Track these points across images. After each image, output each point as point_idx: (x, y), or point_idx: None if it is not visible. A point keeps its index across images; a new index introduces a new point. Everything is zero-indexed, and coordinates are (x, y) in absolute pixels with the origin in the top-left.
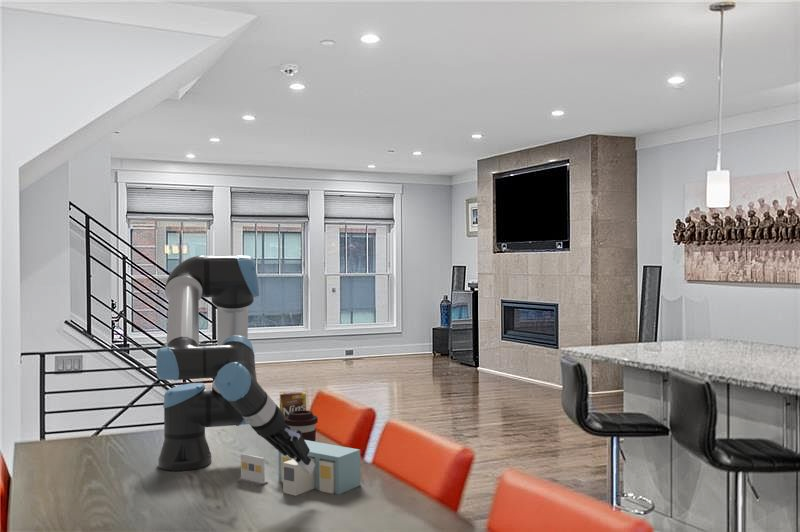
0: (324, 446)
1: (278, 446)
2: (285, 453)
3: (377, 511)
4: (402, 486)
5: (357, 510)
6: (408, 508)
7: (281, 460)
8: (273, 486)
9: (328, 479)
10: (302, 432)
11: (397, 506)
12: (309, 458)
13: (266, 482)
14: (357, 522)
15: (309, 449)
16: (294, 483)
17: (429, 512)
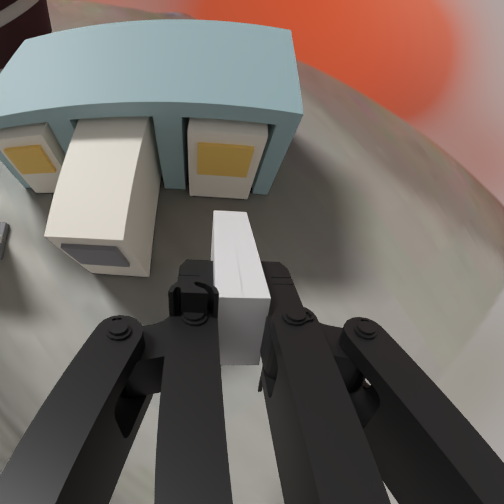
0: (139, 38)
1: (114, 479)
2: (150, 399)
3: (431, 258)
4: (348, 90)
5: (398, 280)
6: (454, 208)
7: (5, 155)
8: (31, 233)
9: (234, 174)
10: (16, 16)
11: (435, 207)
12: (290, 280)
13: (4, 228)
14: (443, 349)
15: (387, 333)
16: (134, 265)
17: (483, 211)
